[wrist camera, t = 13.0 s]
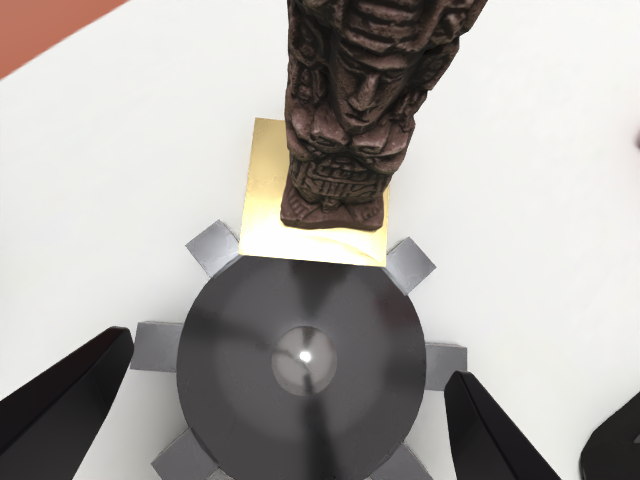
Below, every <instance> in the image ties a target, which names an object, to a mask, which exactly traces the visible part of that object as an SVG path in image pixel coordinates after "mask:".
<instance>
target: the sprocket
mask: <svg viewBox="0 0 640 480" xmlns="http://www.w3.org/2000/svg"><path fill="white" fill-rule="evenodd" d="M289 164H290V161H289V150H288V149H287V139H286V125H285V121H282V120H273V119H264V118H255V125H254V133H253V141H252V149H251V157H250V165H249V173H248V181H247V189H246V197H245V204H244V212H243V220H242V228H241V236H240V243H239V242H238V241H237V239H236V238H235V237H234V236H233V235H232V233H231V232H230V231H229V230H228V229H227V227H226V226H225V225H224V224H223V223H222V222H221V221H220V220H218V221H216V222H215V223H214V224H212V225H211V226H210V227H208V228H207V229H206V230H205V231H203V232H202V233H201V234H199V235H198V236H197V237H195V238H194V239H193V240H191V241H190V242H189V243H188V244H186V245H185V246H186V247H187V249H188V250H189V251H190V252H191V254H192V255H193V256H194V257H195V259H196V260H197V261H198V262H199V264H200V265H201V266H202V267H203V268H204V270H205V271H206V272H207V273H208V275H209V276H210V277H211V279H210V280H209V281H208V282H207V284H206V285H205V286H204V287H203V289H202V290H201V292H200V293H199V295H198V296H197V298H196V299H195V301H194V303H193V305H192V307H191V309H190V311H189V313H188V315H187V317H186V320H185V323H184V324H175V323H162V322H149V321H146V322H139V323H138V326H137V331H136V337H135V343H134V354H133V357H132V360H131V365H130V369H134V370H149V371H163V372H176V374H177V387H178V393H179V399H180V403H181V407H182V410H183V413H184V416H185V419H186V421H187V423H188V426H189V428H188V429H187V430H186V431H185V432H184V433H183V434H182V435H180V436H179V437H178V438H177V439H176V440H175V441H174V442H172V443H171V444H170V445H169V446H168V447H167V448H166V449H164V450H163V451H162V452H161V453H160V454H159V455H158V456H157V457H156V458H155V459H154V461H153V462H152V463H151V465H152V466H153V467H154V469H155V470H156V472H157V473H158V474H159V476H160V477H161V478H162V480H205V479H206V478H207V477H208V476H209V475H210V474H212V473H213V472H214V471H215V470H216V469H217V468H218V467H219V468H220V469H221V470H223V471H224V472H225V473H226V474H227V475H229V476H230V477H232V478H233V479H235V480H364V479H365V478H367V477H368V476H370V477H371V478H372V479H373V480H433V478H432V477H431V476H430V474H429V473H428V472H427V470H426V469H425V468H424V467H423V465H422V464H421V463H420V462H419V461H418V459H417V458H416V457H415V456H414V454H413V453H412V452H411V451H410V450H409V448H408V447H407V446H406V445H405V444H404V442H403V441H404V439H405V438H406V436H407V435H408V433H409V431H410V429H411V427H412V425H413V423H414V421H415V419H416V417H417V414H418V411H419V408H420V405H421V402H422V398H423V393H424V390H436V391H444V388H445V385H446V384H447V382H448V380H449V379H450V377H451V376H452V374H453V372H454V371H456V370H461V371H467V348H466V347H463V346H460V345H450V344H437V343H425V340H424V334H423V331H422V327H421V324H420V321H419V317H418V315H417V313H416V311H415V308H414V306H413V304H412V302H411V300H410V298H409V297H408V295H407V294H408V293H409V292H410V291H411V290H412V289H414V288H415V287H416V286H417V285H418V284H419V283H420V282H421V281H422V280H423V279H424V278H426V277H427V276H428V275H429V274H430V273H431V272H432V271H433V270H434V269H435V268H436V266H435V265H434V264H433V263H432V262H431V261H430V259H429V258H428V257H427V256H426V255H425V254H424V253H423V252H422V250H421V249H420V248H419V247H418V246H417V245H416V244H415V243H414V241H413V240H412V239H411V238H410V237H408V238H406V239H404V240H403V241H402V242H401V243H400V244H398V245H397V246H396V247H395V248H394V249H393V250H392V251H390V252H389V253H388V254H387V255H386V247H387V224H388V201H389V185H388V187H387V188H386V190H385V191H384V193H383V200H384V221H383V226H382V228H380V229H378V230H372V231H370V230H358V229H354V228H347V227H335V228H326V229H303V228H297V227H292V226H286V225H284V223H283V222H282V221H281V220H280V211H281V207H280V204H281V202H282V197H283V193H284V189H285V186H286V179H287V175H288V169H289Z"/></svg>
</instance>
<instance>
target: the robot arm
mask: <svg viewBox="0 0 640 480" xmlns="http://www.w3.org/2000/svg"><path fill="white" fill-rule="evenodd" d="M133 354H134V343H133V340H132V337H131V333H130V330H129V329H128V328H125V327H118V326H112V327H110V328H108V329H106V330H105V331H103V332H102V333H100V334H99V335H97V336H96V337H94V338H93V339H91V340H90V341H89V342H87V343H86V344H84V345H83V346H81V347H80V348H78V349H77V350H75V351H74V352H72V353H71V354H69V355H68V356H66V357H65V358H63V359H62V360H60V361H59V362H57V363H56V364H54V365H53V366H51V367H50V368H49V369H47V370H46V371H44V372H43V373H41V374H40V375H38V376H37V377H35V378H34V379H32V380H31V381H29V382H28V383H26V384H25V385H23V386H22V387H20V388H19V389H17V390H16V391H14V392H13V393H12V394H10V395H9V396H7V397H6V398H4V399H3V400H1V401H0V480H72V479H73V477H74V475H75V473H76V472H77V470H78V468H79V466H80V464H81V462H82V461H83V459H84V457H85V455H86V453H87V451H88V450H89V448H90V446H91V444H92V442H93V440H94V439H95V437H96V435H97V433H98V431H99V429H100V428H101V426H102V424H103V422H104V420H105V418H106V416H107V414H108V413H109V410H110V408H111V406H112V404H113V402H114V399H115V397H116V395H117V392H118V390H119V387H120V385H121V383H122V380H123V378H124V376H125V373H126V371H127V368H128V366H129V364H130V361H131V359H132V357H133ZM444 398H445V406H446V414H447V423H448V431H449V439H450V447H451V453H452V458H453V463H454V468H455V472H456V477H457V480H562V479H561V478H560V477H559V476H558V475H557V474H556V472H555V471H554V470H553V469H552V468H551V466H550V465H549V464H548V463H547V462H546V460H545V459H544V458H543V457H542V456H541V454H540V453H539V452H538V451H537V450H536V449H535V447H534V446H533V445H532V444H531V443H530V441H529V440H528V439H527V438H526V437H525V435H524V434H523V433H522V432H521V431H520V429H519V428H518V427H517V426H516V425H515V424H514V422H513V421H512V420H511V419H510V418H509V416H508V415H507V414H506V413H505V412H504V410H503V409H502V408H501V407H500V406H499V404H498V403H497V402H496V401H495V400H494V399H493V397H492V396H491V395H490V394H489V393H488V391H487V390H486V389H485V388H484V387H483V385H482V384H481V383H480V382H479V381H478V379H477V378H476V377H475V376H474V375H473V374H472V373H471V372H468V371H461V370H456V371H454V372H453V374H452V376H451V377H450V379H449V380H448V382H447V384H446V385H445V388H444Z"/></svg>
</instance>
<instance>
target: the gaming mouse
mask: <svg viewBox="0 0 640 480" xmlns="http://www.w3.org/2000/svg"><path fill="white" fill-rule="evenodd" d="M582 468H583V474H584V479H585V480H640V392H639V393H638V394H637V395H635V396H634V397H633V398H632V399H631V400H630V401H629V402H628V403H626V404H625V405H624V406H623V407H622V408H621V409H619V410H618V411H617V412H615V413H614V414H613V415H612V416H610V417H609V418H608V419H607V420H606V421H605V422H603V423H602V424H601V425H600V426H599V427H598V428H597V429H596V430H595V431H594V432H593V433H592V435H591V437H590V439H589V440H588V442H587V444H586V446H585V448H584V450H583V452H582Z"/></svg>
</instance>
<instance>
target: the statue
mask: <svg viewBox="0 0 640 480" xmlns="http://www.w3.org/2000/svg"><path fill="white" fill-rule="evenodd" d="M487 1H488V0H287V7H288V20H289V29H288V55H289V63H288V82H287V89H286V95H285V125H286V139H287V149H288V150H289V161H290V164H289V169H288V175H287V179H286V186H285V189H284V193H283V197H282V202H281V204H280V207H281V211H280V220H281V221H282V222H283V223H284V225H286V226H292V227H297V228H303V229H326V228H335V227H347V228H354V229H358V230H370V231H372V230H378V229H380V228H382V226H383V221H384V200H383V193H384V191H385V190H386V188H387V187H388V185H389V183H390V181H391V178H392V175H393V174H394V173H395V171H397V170H398V168H399V166H400V165H401V163H402V161H403V160H404V158H405V155H406V151H407V148H408V145H409V143H410V140H411V137H412V134H413V131H414V129H415V121H414V117H413V116H414V114H415V113H416V112H417V111H418V110H419V108H420V107H421V105H422V104H423V102H424V101H425V100H426V98H427V92H428V90H432V89H433V87H434V86H435V85H436V83H437V82H438V81H439V79H440V78H441V77H442V75H443V74H444V73H445V71H446V70H447V69H448V67H449V66H450V64H451V62H452V60H453V59H454V57H455V55H456V54H457V52H458V50H459V37H460V36H461V35H463V34H464V33H466V32H468V31H469V30H470V29H471V27H472V26H473V25H474V23H475V21H476V20H477V18H478V16H479V14H480V13H481V11H482V9H483V8H484V6H485V4H486V2H487Z"/></svg>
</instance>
